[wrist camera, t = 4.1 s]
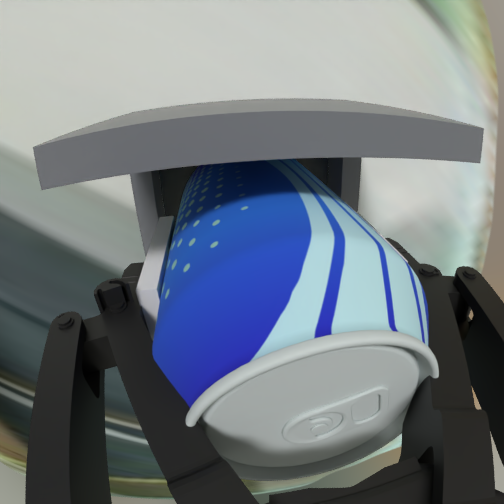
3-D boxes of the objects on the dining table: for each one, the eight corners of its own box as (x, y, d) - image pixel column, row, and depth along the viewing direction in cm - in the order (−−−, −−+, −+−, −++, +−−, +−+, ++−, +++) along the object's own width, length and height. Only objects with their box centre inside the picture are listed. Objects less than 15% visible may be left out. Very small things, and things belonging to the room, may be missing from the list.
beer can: (279, 273, 24) (354, 482, 10) (167, 241, 21) (128, 477, 7) (329, 168, 20) (513, 327, 6) (207, 121, 18) (198, 233, 4)
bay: (158, 272, 22) (132, 416, 12) (133, 112, 17) (32, 147, 6) (338, 254, 23) (417, 374, 13) (345, 100, 18) (483, 128, 8)
